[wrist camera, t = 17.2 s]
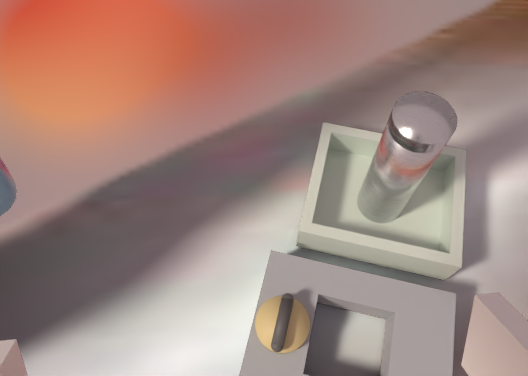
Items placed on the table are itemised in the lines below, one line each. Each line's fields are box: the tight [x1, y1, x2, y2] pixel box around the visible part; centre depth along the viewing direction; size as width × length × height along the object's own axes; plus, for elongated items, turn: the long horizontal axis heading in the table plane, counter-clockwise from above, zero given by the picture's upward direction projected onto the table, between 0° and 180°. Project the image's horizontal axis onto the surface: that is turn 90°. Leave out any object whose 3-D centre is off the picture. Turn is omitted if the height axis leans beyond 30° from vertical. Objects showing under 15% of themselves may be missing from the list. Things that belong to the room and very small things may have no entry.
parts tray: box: [296, 122, 467, 280], centre depth 41 cm, size 14×12×4 cm
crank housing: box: [239, 250, 456, 376], centre depth 35 cm, size 16×12×5 cm
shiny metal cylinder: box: [357, 92, 457, 223], centre depth 36 cm, size 4×4×14 cm
